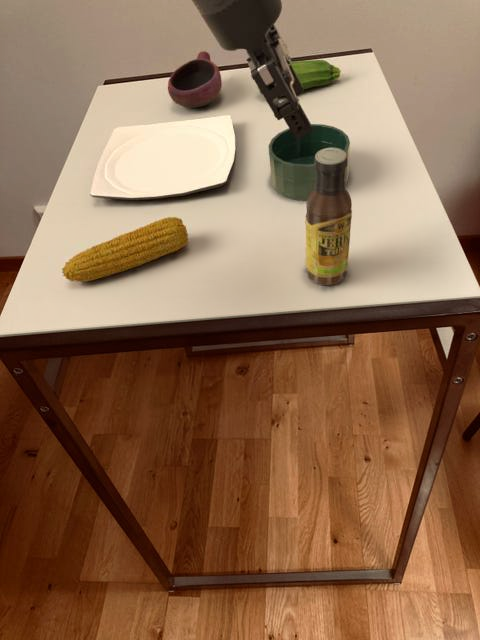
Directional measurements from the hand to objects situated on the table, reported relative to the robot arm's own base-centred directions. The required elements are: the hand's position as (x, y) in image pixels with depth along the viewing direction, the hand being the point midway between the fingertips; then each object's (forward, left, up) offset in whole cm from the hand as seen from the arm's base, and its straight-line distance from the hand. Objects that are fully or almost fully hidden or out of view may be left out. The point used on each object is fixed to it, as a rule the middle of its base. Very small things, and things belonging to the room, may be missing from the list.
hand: (300, 113), depth 61 cm
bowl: (+38, -54, -25) cm, 70 cm away
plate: (+34, -26, -25) cm, 49 cm away
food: (+28, +4, -25) cm, 38 cm away
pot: (+4, -24, -24) cm, 34 cm away
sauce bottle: (-4, +1, -25) cm, 25 cm away
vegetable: (+14, -60, -25) cm, 66 cm away
